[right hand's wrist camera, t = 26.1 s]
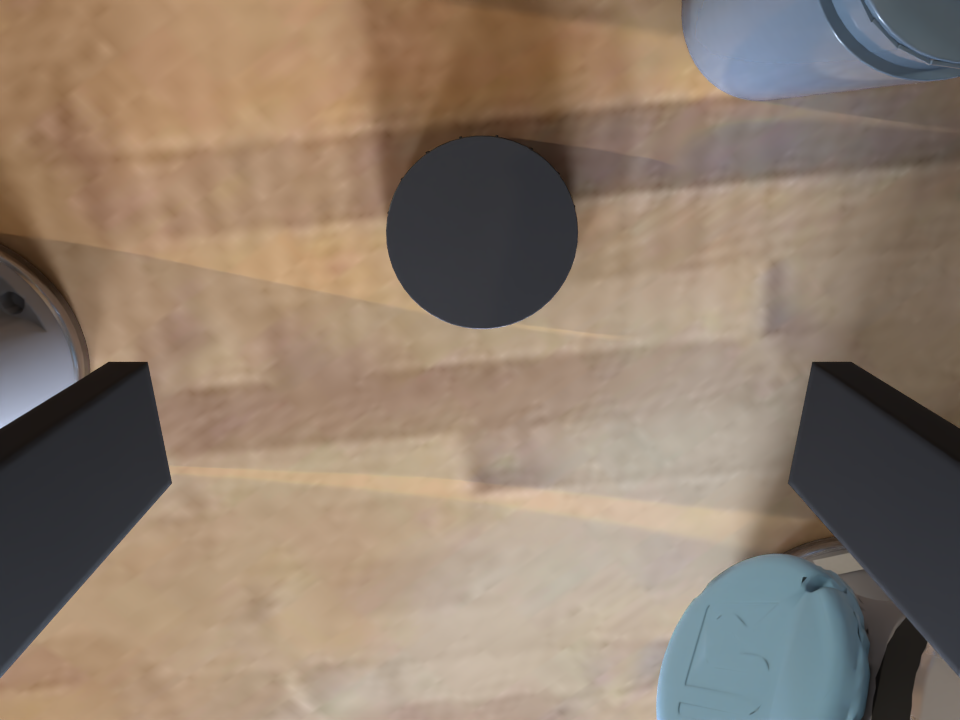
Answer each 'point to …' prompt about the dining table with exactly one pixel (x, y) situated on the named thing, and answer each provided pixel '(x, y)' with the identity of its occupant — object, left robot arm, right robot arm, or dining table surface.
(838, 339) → the dining table surface
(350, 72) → the dining table surface
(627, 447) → the dining table surface
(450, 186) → the lid
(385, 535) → the dining table surface
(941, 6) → the jar
